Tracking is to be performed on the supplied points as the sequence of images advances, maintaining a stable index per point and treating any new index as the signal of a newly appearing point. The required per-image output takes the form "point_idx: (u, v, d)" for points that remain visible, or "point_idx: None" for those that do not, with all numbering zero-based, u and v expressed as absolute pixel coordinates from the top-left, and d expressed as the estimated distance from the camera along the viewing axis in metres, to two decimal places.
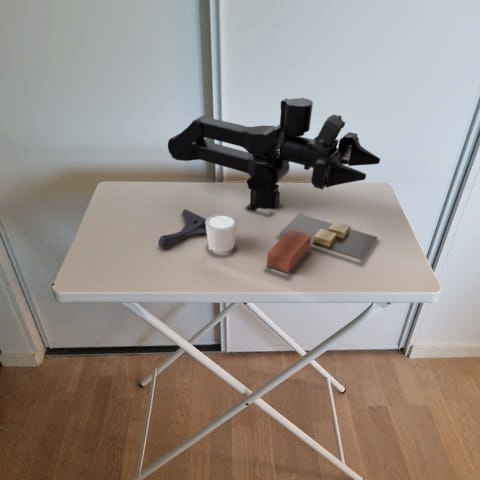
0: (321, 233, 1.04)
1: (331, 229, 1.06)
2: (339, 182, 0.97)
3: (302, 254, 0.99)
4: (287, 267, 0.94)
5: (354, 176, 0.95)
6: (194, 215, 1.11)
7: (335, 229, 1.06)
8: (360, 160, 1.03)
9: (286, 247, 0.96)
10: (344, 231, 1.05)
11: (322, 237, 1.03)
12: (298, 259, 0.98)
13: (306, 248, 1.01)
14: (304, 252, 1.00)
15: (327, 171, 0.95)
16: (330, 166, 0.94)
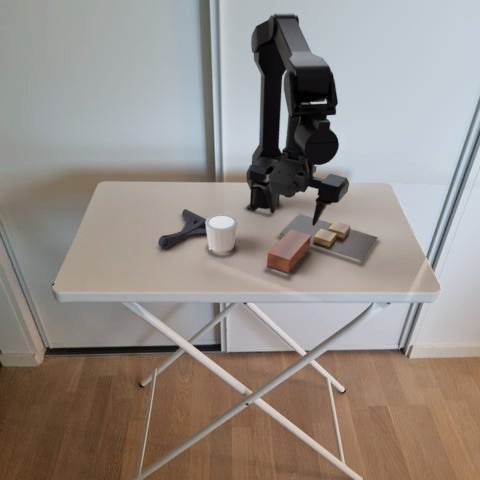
0: (321, 233, 1.04)
1: (331, 229, 1.06)
2: None
3: (302, 254, 0.99)
4: (287, 267, 0.94)
5: None
6: (194, 215, 1.11)
7: (335, 229, 1.06)
8: None
9: (286, 247, 0.96)
10: (344, 231, 1.05)
11: (322, 237, 1.03)
12: (298, 259, 0.98)
13: (306, 248, 1.01)
14: (304, 252, 1.00)
15: None
16: None
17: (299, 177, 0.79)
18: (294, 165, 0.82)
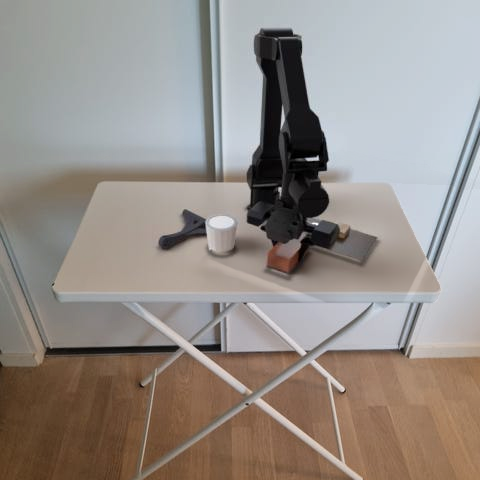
0: None
1: None
2: None
3: None
4: (287, 267, 0.94)
5: None
6: (194, 215, 1.11)
7: None
8: None
9: (286, 247, 0.96)
10: (344, 231, 1.05)
11: None
12: None
13: None
14: None
15: None
16: None
17: (293, 226, 0.86)
18: (289, 214, 0.88)
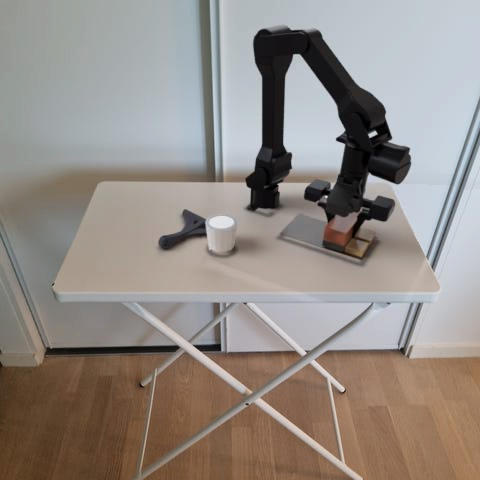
0: (353, 243, 1.02)
1: (356, 237, 1.04)
2: None
3: None
4: (343, 241, 0.99)
5: None
6: (194, 215, 1.11)
7: (360, 237, 1.04)
8: None
9: (341, 222, 1.01)
10: (370, 239, 1.03)
11: (354, 247, 1.00)
12: None
13: None
14: None
15: None
16: None
17: (355, 200, 0.90)
18: (349, 189, 0.93)
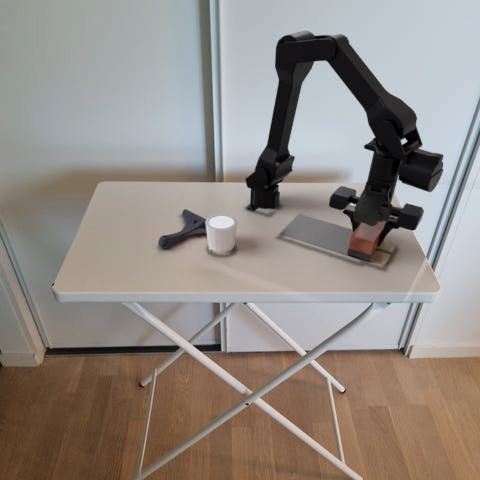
0: (374, 255, 1.01)
1: (377, 248, 1.03)
2: None
3: None
4: (370, 249, 0.97)
5: None
6: (194, 215, 1.11)
7: (381, 248, 1.03)
8: None
9: (367, 230, 0.99)
10: (391, 250, 1.02)
11: (375, 259, 0.99)
12: (377, 243, 1.01)
13: None
14: None
15: None
16: None
17: (384, 208, 0.88)
18: (377, 197, 0.91)
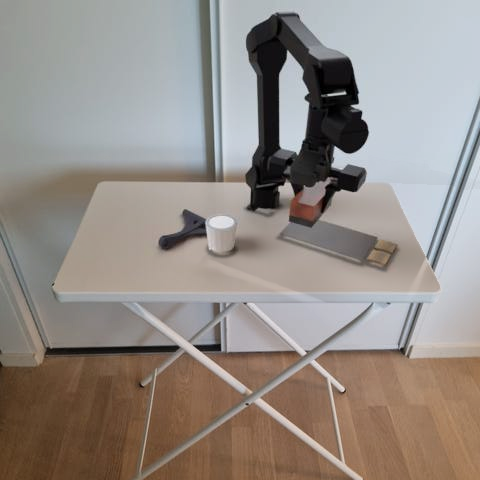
0: (374, 255, 1.01)
1: (377, 248, 1.03)
2: None
3: None
4: (311, 215, 0.90)
5: None
6: (194, 215, 1.11)
7: (381, 248, 1.03)
8: None
9: (309, 195, 0.92)
10: (391, 250, 1.02)
11: (375, 259, 0.99)
12: (321, 209, 0.94)
13: None
14: None
15: None
16: None
17: (320, 167, 0.82)
18: (314, 156, 0.84)
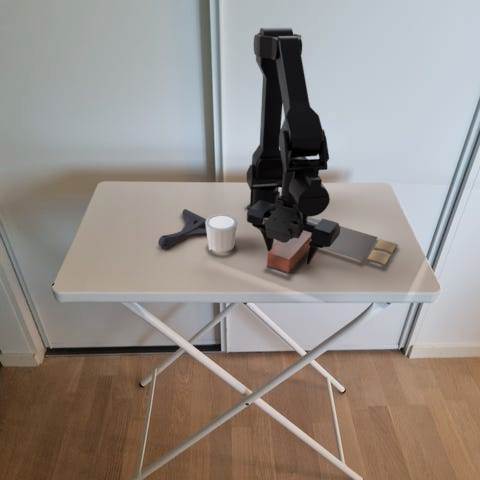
0: (374, 255, 1.01)
1: (377, 248, 1.03)
2: None
3: (302, 254, 0.99)
4: (287, 267, 0.94)
5: None
6: (194, 215, 1.11)
7: (381, 248, 1.03)
8: None
9: (286, 247, 0.96)
10: (391, 250, 1.02)
11: (375, 259, 0.99)
12: (298, 259, 0.98)
13: (306, 248, 1.01)
14: (304, 252, 1.00)
15: None
16: None
17: (293, 225, 0.85)
18: (289, 213, 0.88)
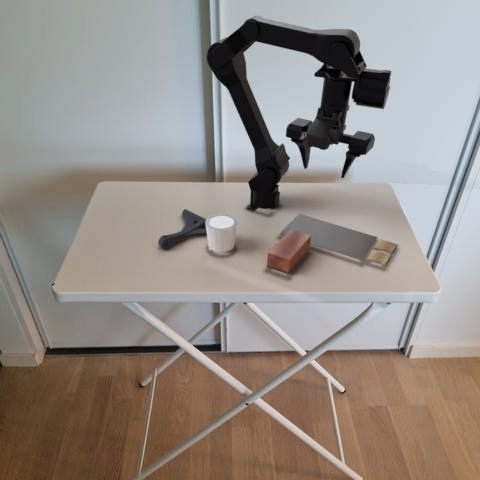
0: (374, 255, 1.01)
1: (377, 248, 1.03)
2: None
3: (302, 254, 0.99)
4: (287, 267, 0.94)
5: None
6: (194, 215, 1.11)
7: (381, 248, 1.03)
8: None
9: (286, 247, 0.96)
10: (391, 250, 1.02)
11: (375, 259, 0.99)
12: (298, 259, 0.98)
13: (306, 248, 1.01)
14: (304, 252, 1.00)
15: None
16: None
17: (333, 130, 0.92)
18: (328, 121, 0.95)
